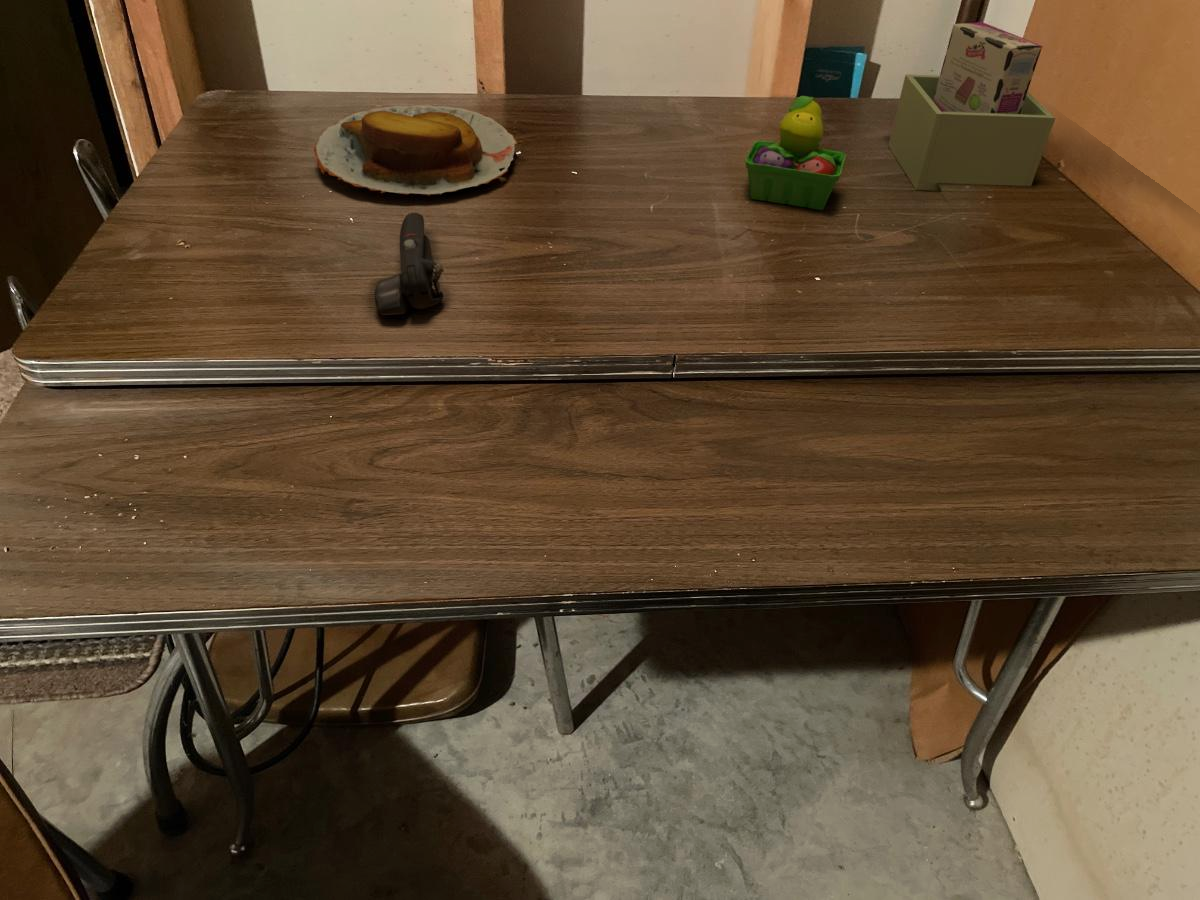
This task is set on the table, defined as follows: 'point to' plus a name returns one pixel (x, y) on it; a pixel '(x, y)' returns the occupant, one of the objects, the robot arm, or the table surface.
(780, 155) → the fruit basket
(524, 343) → the table surface
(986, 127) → the waste bin
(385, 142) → the food on plate
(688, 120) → the table surface
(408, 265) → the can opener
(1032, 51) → the candy bar box
